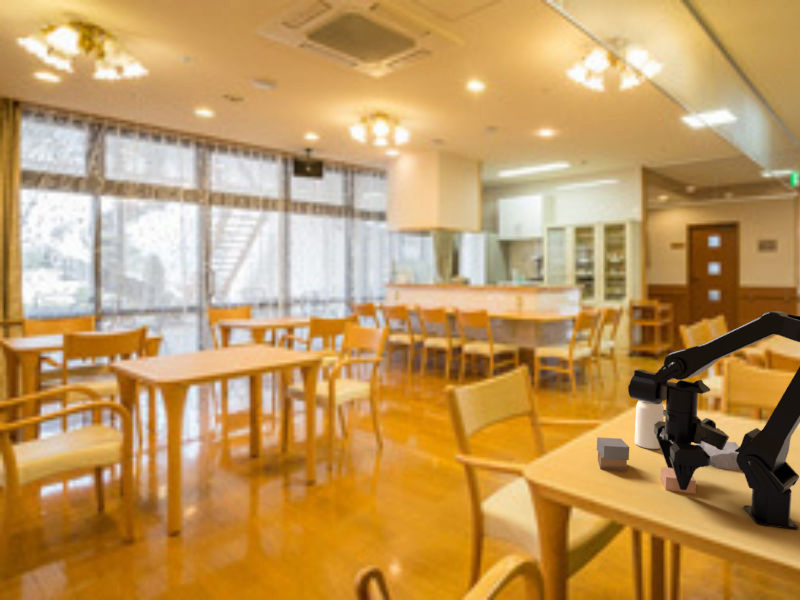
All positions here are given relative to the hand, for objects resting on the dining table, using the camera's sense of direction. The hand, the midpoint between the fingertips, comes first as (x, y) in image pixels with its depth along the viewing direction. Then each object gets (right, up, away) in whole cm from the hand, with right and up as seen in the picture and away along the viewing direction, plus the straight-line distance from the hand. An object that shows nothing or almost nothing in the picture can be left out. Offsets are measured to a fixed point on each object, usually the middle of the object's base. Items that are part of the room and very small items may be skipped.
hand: (677, 480), depth 103 cm
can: (+6, 0, +23) cm, 24 cm away
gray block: (-10, +2, +10) cm, 14 cm away
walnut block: (-10, -1, +10) cm, 14 cm away
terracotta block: (0, -1, 0) cm, 1 cm away
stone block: (+19, -1, +14) cm, 24 cm away
